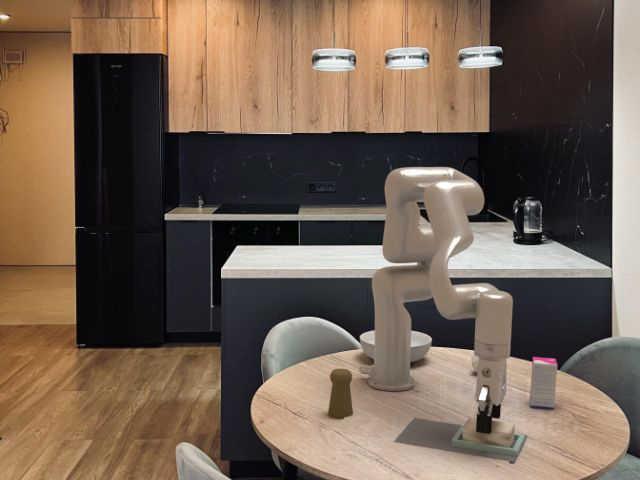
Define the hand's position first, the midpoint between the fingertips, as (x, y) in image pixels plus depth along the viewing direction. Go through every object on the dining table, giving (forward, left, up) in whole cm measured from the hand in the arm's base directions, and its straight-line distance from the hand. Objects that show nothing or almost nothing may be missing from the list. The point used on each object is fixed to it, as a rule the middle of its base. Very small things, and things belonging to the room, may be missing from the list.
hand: (488, 424), depth 185 cm
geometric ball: (-11, +50, -5) cm, 51 cm away
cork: (-36, +4, -5) cm, 36 cm away
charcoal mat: (-6, 0, -4) cm, 7 cm away
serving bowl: (-38, +53, -5) cm, 65 cm away
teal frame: (0, 0, -4) cm, 4 cm away
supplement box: (+7, +31, -5) cm, 32 cm away
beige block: (0, 0, -4) cm, 4 cm away
